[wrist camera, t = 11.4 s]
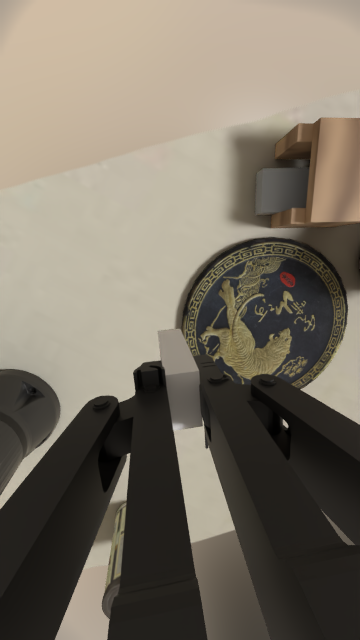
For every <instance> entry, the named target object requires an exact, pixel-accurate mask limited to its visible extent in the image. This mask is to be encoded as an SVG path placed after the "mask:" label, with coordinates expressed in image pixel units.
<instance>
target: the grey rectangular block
mask: <svg viewBox="0 0 360 640" xmlns="http://www.w3.org/2000/svg"><path fill="white" fill-rule="evenodd" d="M309 170H310V168H263V169H262V170H260V171H259V172H258V173H257V174H256V196H255V215H273V214H276V213H279V212H282V211H285V210H288V209H291V208H306V203H307V192H308V181H309Z"/></svg>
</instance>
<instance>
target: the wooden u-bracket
mask: <svg viewBox="0 0 360 640" xmlns="http://www.w3.org/2000/svg"><path fill="white" fill-rule="evenodd" d="M275 159H310V170H309V181H308V192H307V203H306V208H291V209H288V210H285V211H282V212H279V213H276V214H273V215H271V228H305V227H337V226H344V225H350V224H357V223H360V118H320V119H319V120H318V121H316V122H315V123H314V124H302V123H299V124H298V125H296V126H295V127H294V128H293V129H292V130H291V131H290V132H289V133H288V134H287V135H285V136H284V137H283V138H282V139H281V140H280V141H279V142H278V143H277V144H276V146H275Z"/></svg>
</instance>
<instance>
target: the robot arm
mask: <svg viewBox="0 0 360 640" xmlns="http://www.w3.org/2000/svg"><path fill="white" fill-rule="evenodd" d="M158 338H159V348H160V357H161V361H153V362H145V363H143V364H142V365H141V366H140V367H138V368H137V369H136V370H134V372H133V375H134V383H135V390H136V392H135V395H134V396H133V397H132V398H130V399H128V400H125V401H123V402H120V403H119V402H118V399H117V398H116V397H114V396H99V397H96V398H94V399H92V400H91V401H89V402H88V403H87V404H86V405H85V406H84V407H83V408H82V409H81V411H80V412H79V413H78V414H77V416H76V417H75V418H74V419H73V421H72V422H71V423H70V424H69V425H68V427H67V428H66V429H65V430H64V432H63V433H62V434H61V435H60V437H59V438H58V439H57V440H56V441H55V443H54V444H53V445H52V446H51V448H50V449H49V450H48V451H47V453H46V454H45V455H44V456H43V458H42V459H41V460H40V461H39V462H38V464H37V465H36V466H35V467H34V469H33V470H32V471H31V472H30V474H29V475H28V476H27V477H26V478H25V480H24V481H23V482H22V483H21V485H20V486H19V487H18V488H17V490H16V491H15V492H14V493H13V495H12V496H11V497H10V498H9V499H8V501H7V502H6V503H5V504H4V506H3V507H2V508H1V509H0V640H55V637H56V635H57V632H58V630H59V627H60V625H61V622H62V620H63V617H64V615H65V612H66V610H67V607H68V605H69V602H70V600H71V597H72V595H73V592H74V590H75V587H76V585H77V582H78V580H79V577H80V575H81V572H82V570H83V567H84V565H85V562H86V560H87V557H88V555H89V552H90V550H91V547H92V545H93V542H94V540H95V537H96V535H97V532H98V530H99V527H100V525H101V522H102V520H103V517H104V515H105V512H106V510H107V507H108V505H109V502H110V500H111V497H112V495H113V492H114V490H115V487H116V485H117V482H118V480H119V477H120V475H121V472H122V470H123V467H124V465H125V462H126V458H127V454H128V453H130V465H129V478H128V490H127V502H126V515H125V527H124V539H123V552H122V564H121V576H120V586H119V591H118V594H117V595H116V596H115V597H114V599H113V603H112V607H111V613H110V621H109V629H108V639H107V640H207V634H206V628H205V623H204V615H203V609H202V602H201V597H200V591H199V585H198V580H197V578H196V574H195V569H194V562H193V556H192V549H191V543H190V536H189V530H188V523H187V517H186V510H185V503H184V497H183V490H182V484H181V477H180V471H179V464H178V458H177V451H176V445H175V438H174V432H173V431H174V430H180V429H187V428H194V427H201V426H203V424H202V418H203V421H204V428H205V445H206V448H208V445H209V448H210V451H211V454H212V458H213V461H214V464H215V467H216V470H217V473H218V476H219V479H220V483H221V486H222V489H223V492H224V495H225V498H226V501H227V504H228V508H229V511H230V514H231V517H232V520H233V523H234V526H235V529H236V533H237V536H238V539H239V542H240V545H241V548H242V551H243V554H244V558H245V561H246V564H247V567H248V570H249V573H250V576H251V579H252V583H253V586H254V589H255V592H256V595H257V598H258V601H259V605H260V607H261V611H262V614H263V617H264V620H265V623H266V626H267V630H268V632H269V636H270V639H271V640H360V425H359V424H357V423H356V422H354V421H352V420H351V419H349V418H347V417H345V416H344V415H342V414H340V413H339V412H337V411H335V410H334V409H332V408H330V407H328V406H327V405H325V404H323V403H322V402H320V401H318V400H317V399H315V398H313V397H311V396H310V395H308V394H306V393H305V392H303V391H301V390H300V389H298V388H296V387H294V386H293V385H291V384H289V383H288V382H286V381H284V380H283V379H281V378H279V377H277V376H274V375H270V374H260V375H256V376H253V377H252V378H251V385H247V384H236V383H234V381H233V380H232V378H231V377H230V376H228V375H226V374H223V373H221V371H220V370H219V368H218V367H217V366H216V364H215V362H214V360H213V359H212V357H210V356H208V355H206V354H205V355H197V356H192V354H191V352H190V349H189V347H188V345H187V343H186V340H185V338H184V336H183V334H182V332H181V329H170V330H161V331H158ZM59 417H60V404H59V400H58V397H57V395H56V394H55V392H54V390H53V389H52V388H51V387H50V386H49V385H48V384H47V383H46V382H45V381H44V380H42V379H41V378H39V377H38V376H36V375H33V374H31V373H28V372H25V371H20V370H2V371H0V495H1V494H2V492H3V491H4V489H5V487H6V486H7V484H8V483H9V481H10V479H11V478H12V476H13V474H14V473H15V471H16V470H17V468H18V466H19V465H20V463H21V462H22V460H23V459H24V458H25V457H26V456H27V455H29V454H30V453H31V452H32V451H33V450H34V449H35V448H37V447H39V446H40V445H41V444H43V443H44V442H45V441H46V440H47V439H48V438H49V437H50V435H51V434H52V432H53V431H54V429H55V427H56V425H57V423H58V421H59ZM283 419H284V420H285V421H286V422H287V424H288V425H289V426H288V428H286V427H285V426H284V425H283ZM321 510H322V511H323V512H324V513H325V514H326V515H327V516H328V517H329V518H330V519H331V520H332V521H333V522H334V523H335V524H336V525H337V526H338V527H339V528H340V530H341V531H342V532H343V533H344V534H345V535H346V536H347V537H348V538H349V539H350V540H351V541H352V542H353V543H354V544H355V545H347V544H346V543H345V542H343V541H342V539H341V538H340V537H339V536H338V534H337V533H336V531H335V530H334V528H333V527H332V525H331V524H330V522H329V521H328V520H327V518H326V517H325V515H324V514H323V512H322V511H321Z"/></svg>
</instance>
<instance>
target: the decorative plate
mask: <svg viewBox="0 0 360 640" xmlns="http://www.w3.org/2000/svg"><path fill="white" fill-rule="evenodd" d="M347 316H348V304H347V296H346V291H345V288H344V285H343V283H342V280H341V277H340V276H339V274H338V273H337V271H336V269H335V268H334V266H333V265H332V264H331V263H330V262H329V261H328V260H327V259H326V258H325V257H324V256H323V255H322V254H321V253H320V252H318V251H317V250H315V249H313V248H312V247H310V246H309V245H307V244H304V243H301V242H298V241H295V240H292V239H285V238H275V237H271V238H262V239H254V240H251V241H248V242H245V243H242V244H239V245H236V246H234V247H233V248H231V249H229V250H227V251H225V252H224V253H222V254H221V255H219V256H218V257H217V258H216V259H215V260H213V261H212V262H211V263H210V264H209V265H208V266H207V267H206V268H205V269H204V271H203V272H202V273H201V274H200V275H199V277H198V278H197V279H196V281H195V283H194V285H193V287H192V289H191V290H190V292H189V294H188V297H187V300H186V304H185V307H184V310H183V319H182V334H183V336H184V338H185V340H186V343H187V345H188V347H189V349H190V352H191V354H192V356H197V355H205V354H206V355H208V356H210V357H212V359H213V360H214V362H215V364H216V366H217V367H218V368H219V370H220V371H221V373H223V374H226V375H228V376H230V377H231V378H232V380H233V381H234V383H236V384H247V385H251V378H252V377H253V376H256V375H260V374H270V375H274V376H277V377H279V378H281V379H283V380H284V381H286V382H288V383H289V384H291V385H293V386H294V387H296V388H298V389H302V388H304V387H305V386H307V385H308V384H309V383H311V382H312V381H313V380H314V379H316V378H317V377H318V376H319V375H320V374H321V373H322V372H323V371H324V370H325V369H326V367H327V366H328V365H329V363H330V362H331V361H332V359H333V358H334V356H335V355H336V353H337V351H338V349H339V346H340V344H341V342H342V340H343V337H344V333H345V329H346V325H347Z"/></svg>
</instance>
